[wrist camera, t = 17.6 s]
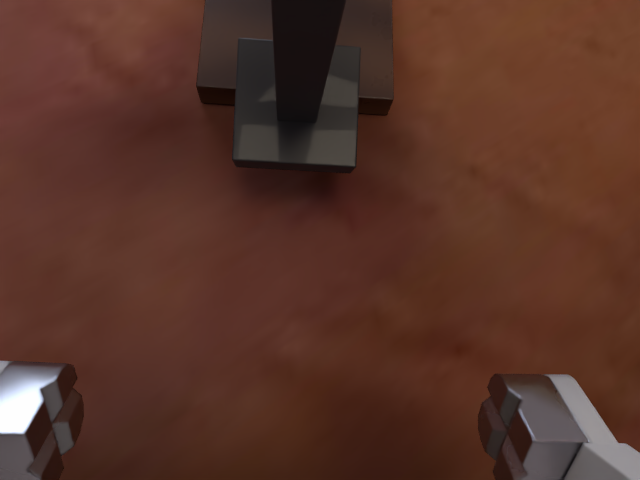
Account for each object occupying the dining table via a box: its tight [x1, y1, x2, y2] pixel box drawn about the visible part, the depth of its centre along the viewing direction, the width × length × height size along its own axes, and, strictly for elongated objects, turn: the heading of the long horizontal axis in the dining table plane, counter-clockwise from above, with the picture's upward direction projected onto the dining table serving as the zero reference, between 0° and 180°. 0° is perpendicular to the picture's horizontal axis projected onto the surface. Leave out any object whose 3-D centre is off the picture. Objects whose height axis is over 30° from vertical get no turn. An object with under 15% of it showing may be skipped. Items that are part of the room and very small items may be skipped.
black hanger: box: [232, 0, 361, 173], centre depth 15 cm, size 7×5×12 cm
